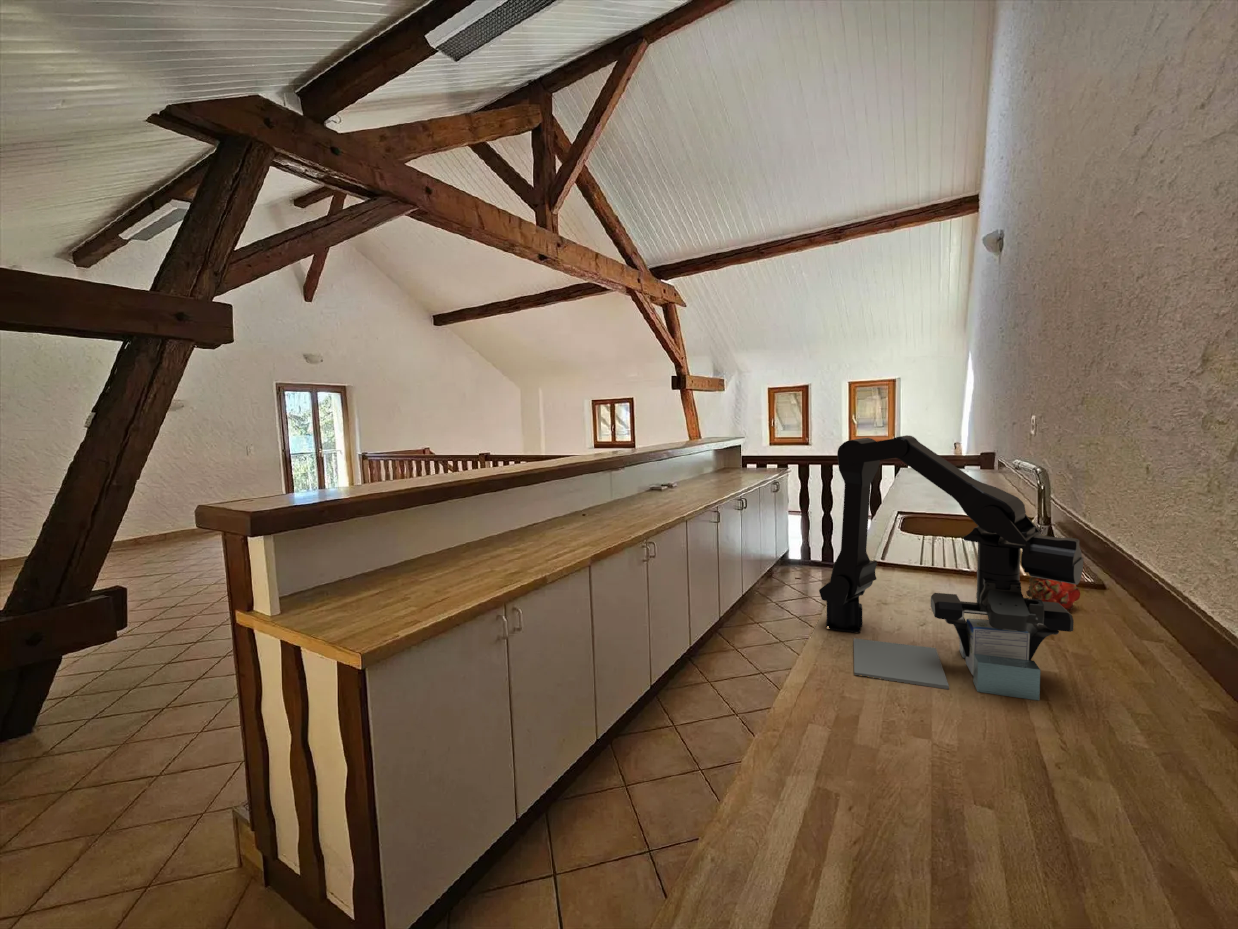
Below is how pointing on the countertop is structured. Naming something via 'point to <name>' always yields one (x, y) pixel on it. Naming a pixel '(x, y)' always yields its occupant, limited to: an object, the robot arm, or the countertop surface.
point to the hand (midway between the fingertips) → (995, 659)
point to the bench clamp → (1006, 676)
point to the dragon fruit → (1053, 592)
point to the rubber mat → (899, 663)
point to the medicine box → (995, 642)
